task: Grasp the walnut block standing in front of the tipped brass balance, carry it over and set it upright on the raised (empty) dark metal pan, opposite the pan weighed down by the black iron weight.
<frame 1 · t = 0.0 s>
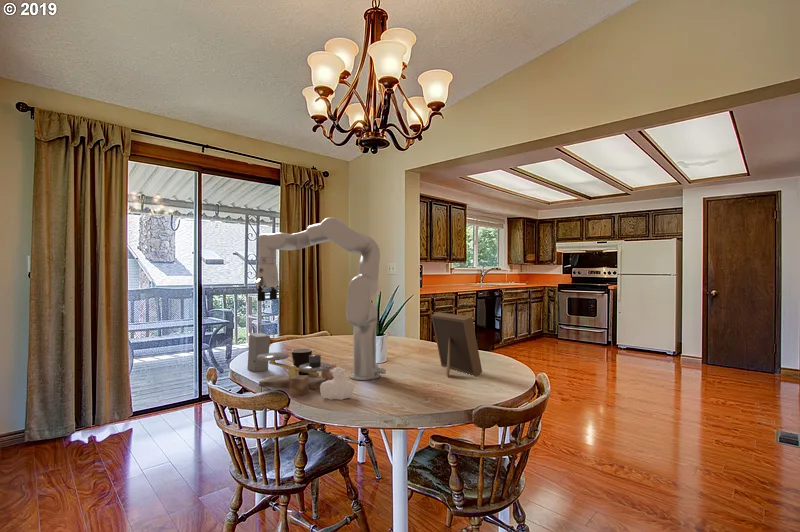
hand: (267, 300, 179), 31 cm above the table, fingers open, 9 cm apart
balance: (293, 367, 158), on the balance base, point 6 cm above the table
walnut block: (299, 393, 146), on the table
skincare box: (258, 370, 180), on the table
bust: (337, 397, 141), on the table
balance base: (293, 383, 158), on the table
photo frame: (452, 372, 175), on the table
peach rounded egg: (328, 379, 164), on the table
coffee mug: (302, 373, 175), on the table
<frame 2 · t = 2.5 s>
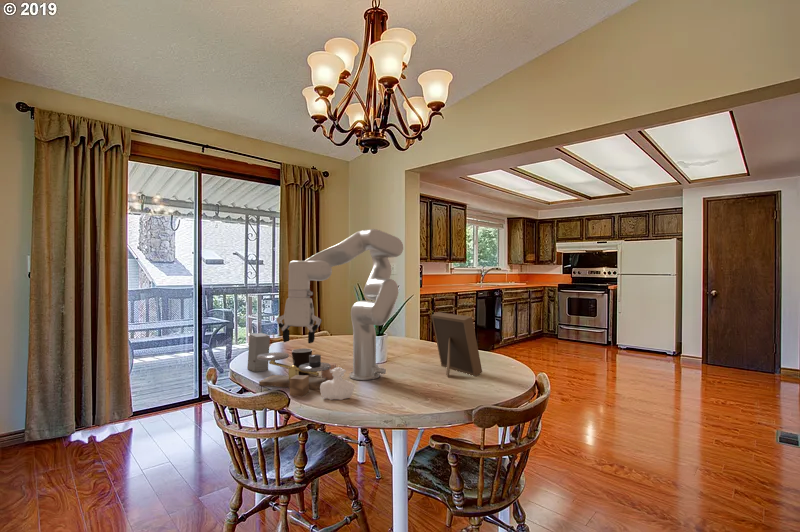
hand: (298, 342, 145), 19 cm above the table, fingers open, 9 cm apart
nothing on the table moved.
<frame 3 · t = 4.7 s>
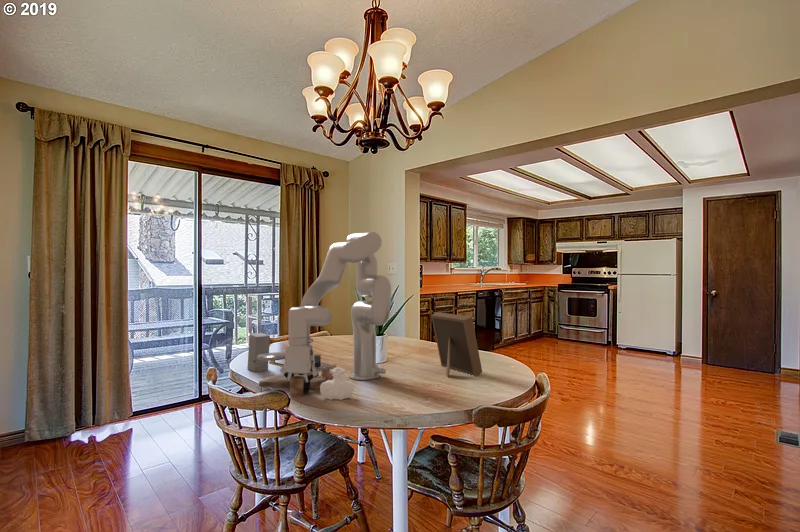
hand: (299, 391, 146), 1 cm above the table, fingers closed on walnut block, 5 cm apart
walnut block: (299, 393, 146), on the table, touching gripper
everything else where it was.
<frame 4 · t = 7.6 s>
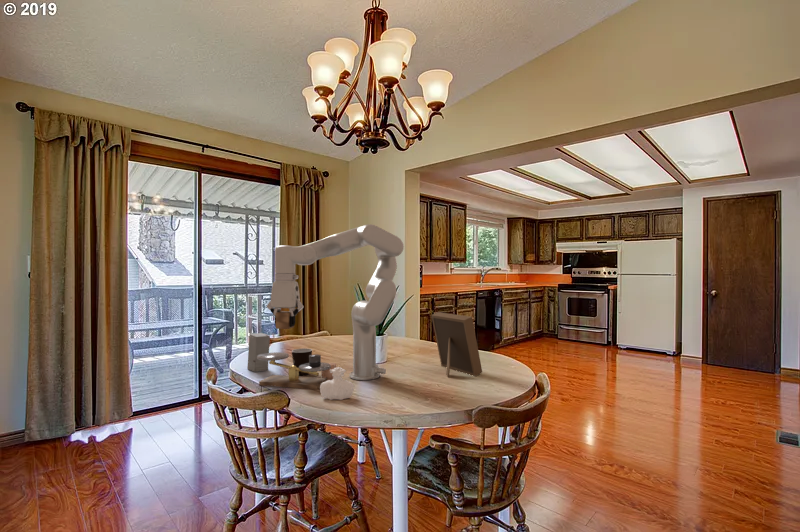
hand: (285, 325, 153), 24 cm above the table, fingers closed on walnut block, 5 cm apart
walnut block: (284, 327, 153), point 23 cm above the table, touching gripper
everything else where it was.
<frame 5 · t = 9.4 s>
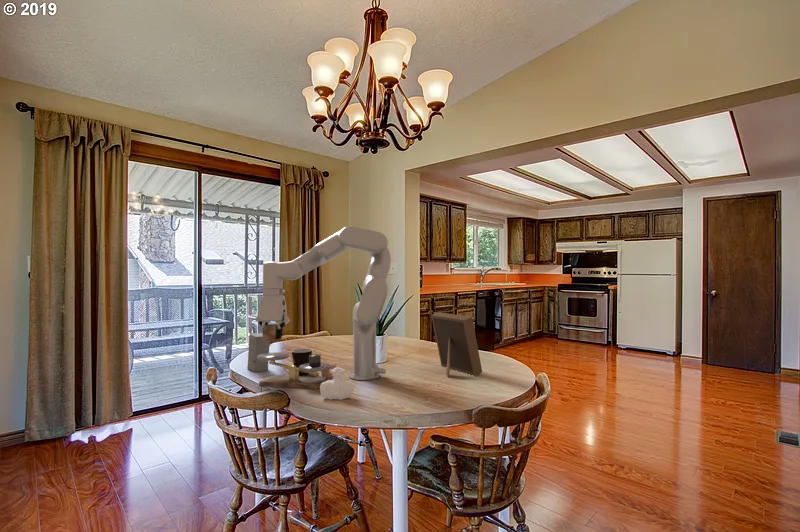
hand: (272, 337, 160), 18 cm above the table, fingers closed on walnut block, 5 cm apart
walnut block: (272, 340, 160), point 17 cm above the table, touching gripper
everything else where it was.
when the fingers open (12 cm above the table, at t = 10.7 s): walnut block drops 1 cm, resting on balance.
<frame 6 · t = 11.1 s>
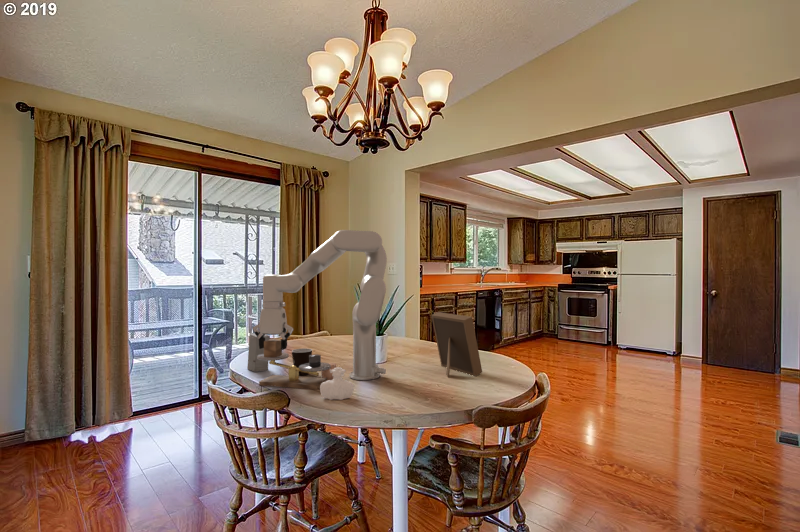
hand: (272, 348, 160), 13 cm above the table, fingers open, 9 cm apart
walnut block: (273, 355, 160), point 11 cm above the table, touching balance
everything else where it was.
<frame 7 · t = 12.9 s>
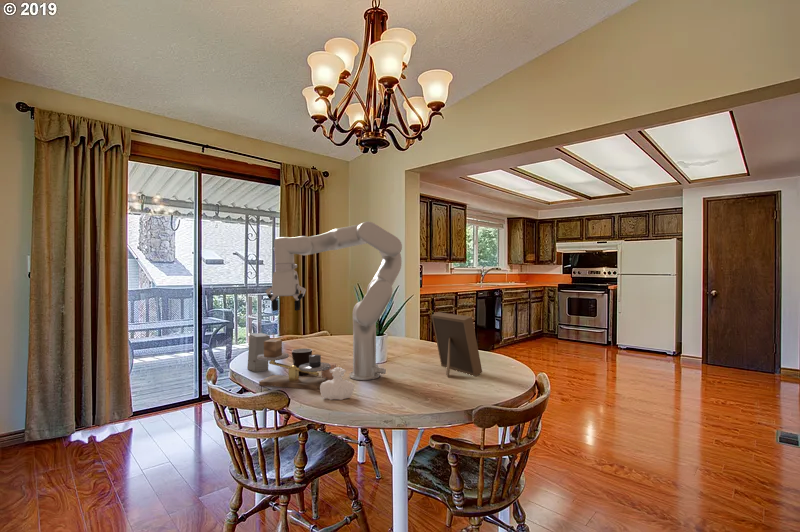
hand: (286, 310, 162), 28 cm above the table, fingers open, 9 cm apart
nothing on the table moved.
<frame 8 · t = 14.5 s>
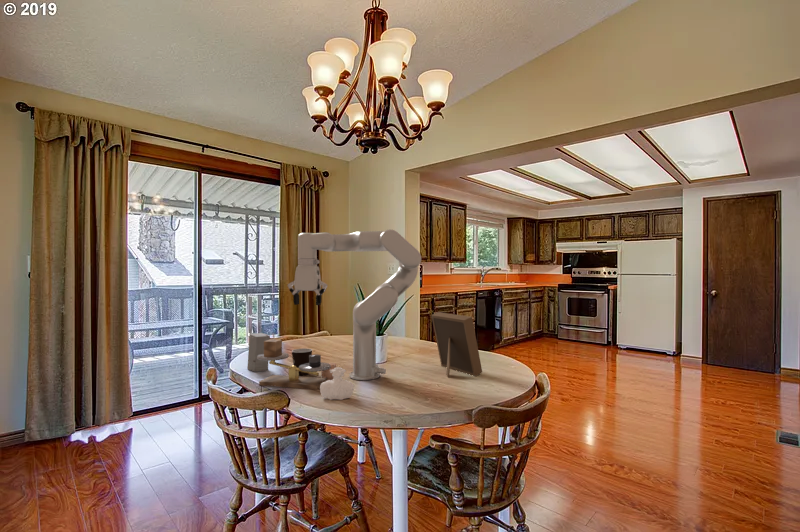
hand: (307, 304, 166), 30 cm above the table, fingers open, 9 cm apart
nothing on the table moved.
at the end: walnut block inside the target area on the balance (0.1 cm from its centre), point 10.6 cm above the balance's base; walnut block tilted 0°; the gripper is holding nothing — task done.
